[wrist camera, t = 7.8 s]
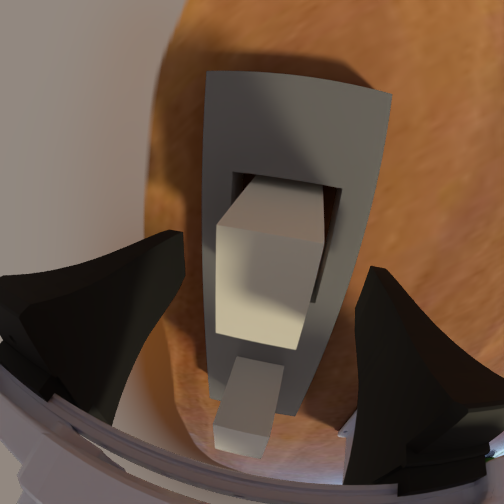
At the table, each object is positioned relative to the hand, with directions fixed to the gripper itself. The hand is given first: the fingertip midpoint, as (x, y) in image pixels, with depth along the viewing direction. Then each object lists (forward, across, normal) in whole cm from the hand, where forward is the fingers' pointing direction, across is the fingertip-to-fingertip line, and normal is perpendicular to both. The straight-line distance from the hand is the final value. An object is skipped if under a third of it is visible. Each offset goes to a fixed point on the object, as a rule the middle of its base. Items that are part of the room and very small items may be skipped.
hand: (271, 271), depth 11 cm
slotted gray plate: (+4, 0, +4) cm, 6 cm away
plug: (+4, 0, 0) cm, 4 cm away
